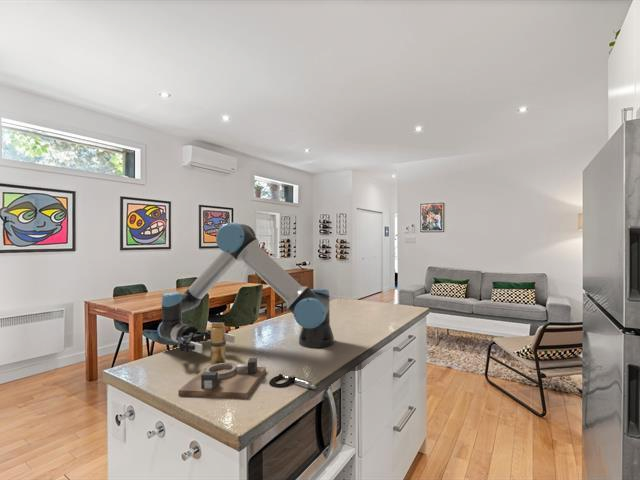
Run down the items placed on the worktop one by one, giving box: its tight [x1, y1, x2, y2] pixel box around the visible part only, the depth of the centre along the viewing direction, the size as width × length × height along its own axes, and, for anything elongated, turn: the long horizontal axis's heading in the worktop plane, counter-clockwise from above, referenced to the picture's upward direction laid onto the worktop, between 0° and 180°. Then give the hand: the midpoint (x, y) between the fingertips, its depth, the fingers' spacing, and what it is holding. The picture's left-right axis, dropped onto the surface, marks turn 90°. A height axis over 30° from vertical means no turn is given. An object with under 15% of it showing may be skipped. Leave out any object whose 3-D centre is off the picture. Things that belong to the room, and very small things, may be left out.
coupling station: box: [177, 357, 267, 399], centre depth 101 cm, size 20×19×5 cm
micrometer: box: [268, 373, 317, 391], centre depth 98 cm, size 15×7×3 cm, turn 51°
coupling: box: [209, 322, 227, 365], centre depth 117 cm, size 5×5×15 cm
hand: (218, 343), depth 116 cm, fingers open, 13 cm apart
